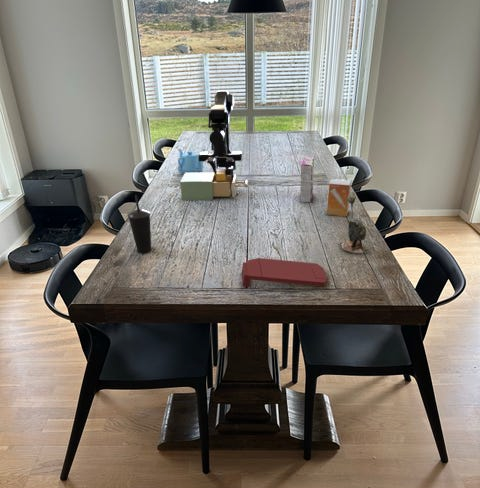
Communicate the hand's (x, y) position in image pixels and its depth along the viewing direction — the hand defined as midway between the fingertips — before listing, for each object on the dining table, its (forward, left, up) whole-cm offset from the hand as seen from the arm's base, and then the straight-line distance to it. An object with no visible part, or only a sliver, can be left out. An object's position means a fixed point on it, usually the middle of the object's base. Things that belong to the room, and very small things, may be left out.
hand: (221, 175), depth 202 cm
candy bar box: (-30, +24, -9) cm, 39 cm away
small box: (-31, +45, -9) cm, 55 cm away
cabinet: (+9, -5, -9) cm, 14 cm away
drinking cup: (+48, +39, -9) cm, 62 cm away
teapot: (-3, -43, -9) cm, 44 cm away
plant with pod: (-15, +75, -9) cm, 77 cm away
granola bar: (0, 0, -1) cm, 1 cm away
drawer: (-2, +1, -8) cm, 8 cm away
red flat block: (+16, +80, -9) cm, 82 cm away
